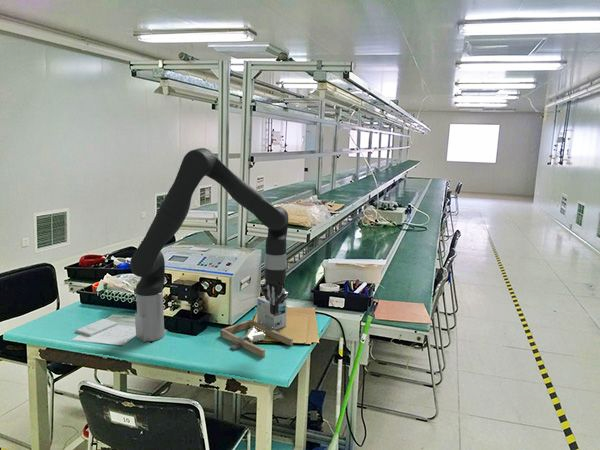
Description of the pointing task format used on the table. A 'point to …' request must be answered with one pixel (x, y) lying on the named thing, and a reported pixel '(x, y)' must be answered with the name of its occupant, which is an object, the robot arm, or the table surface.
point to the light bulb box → (267, 317)
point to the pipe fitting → (254, 335)
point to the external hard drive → (96, 327)
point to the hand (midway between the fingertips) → (274, 313)
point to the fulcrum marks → (238, 346)
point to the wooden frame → (247, 345)
